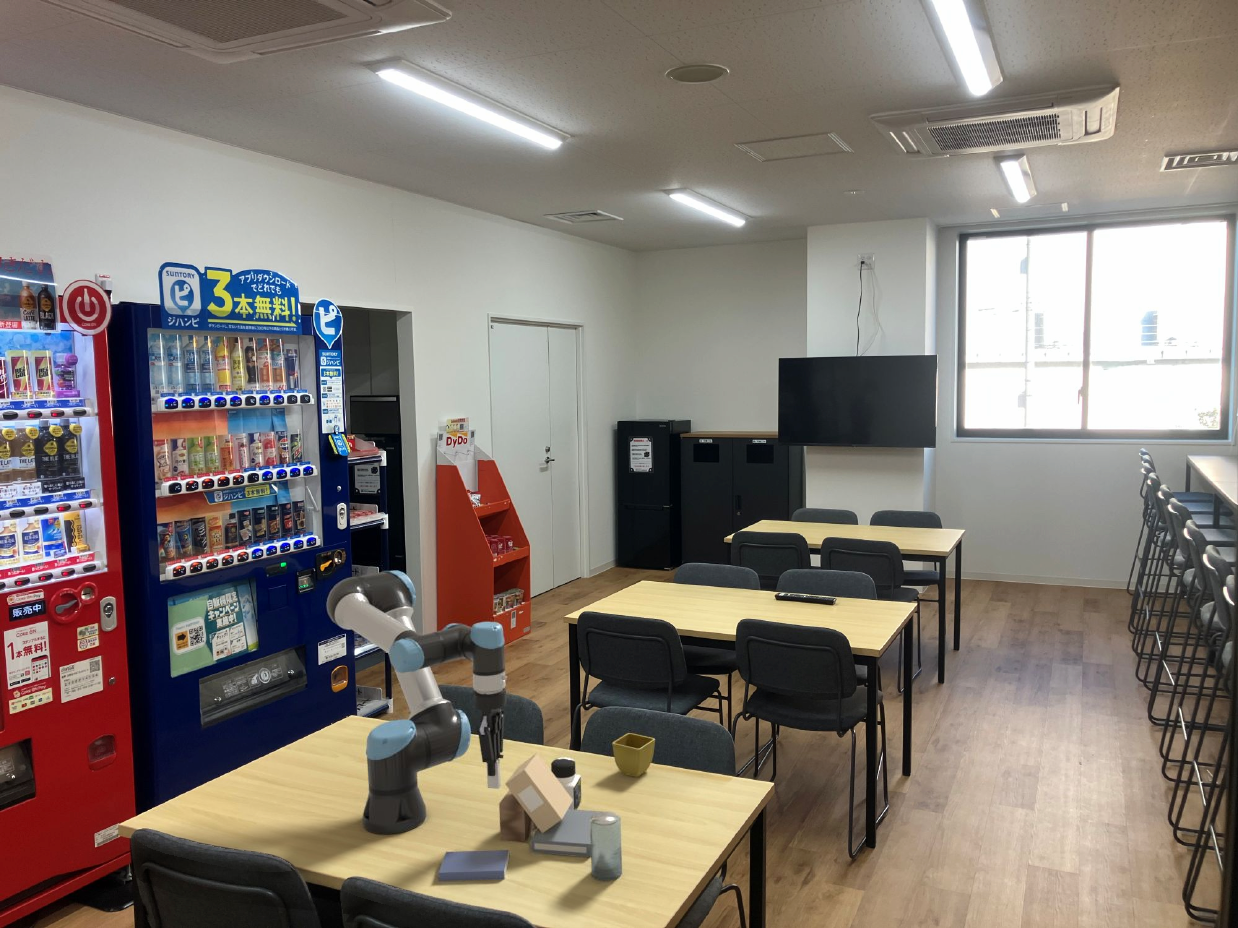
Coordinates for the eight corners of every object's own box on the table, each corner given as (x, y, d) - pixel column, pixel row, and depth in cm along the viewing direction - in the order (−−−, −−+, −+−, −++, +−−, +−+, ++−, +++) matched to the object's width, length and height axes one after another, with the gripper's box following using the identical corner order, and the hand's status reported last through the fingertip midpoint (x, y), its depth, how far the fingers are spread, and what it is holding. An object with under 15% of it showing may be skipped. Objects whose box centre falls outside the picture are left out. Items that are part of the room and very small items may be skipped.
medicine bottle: (574, 814, 226) (573, 766, 225) (546, 812, 227) (545, 765, 226) (581, 801, 233) (580, 755, 232) (554, 799, 234) (553, 754, 233)
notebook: (439, 883, 196) (438, 872, 196) (446, 861, 205) (445, 851, 205) (504, 881, 197) (504, 870, 196) (509, 859, 206) (508, 849, 205)
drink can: (588, 879, 195) (586, 823, 194) (595, 863, 202) (593, 809, 201) (618, 882, 194) (617, 825, 193) (624, 866, 200) (623, 811, 199)
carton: (542, 833, 210) (504, 783, 211) (554, 813, 220) (518, 766, 221) (561, 819, 209) (524, 769, 209) (573, 799, 218) (537, 752, 219)
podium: (530, 852, 207) (530, 839, 207) (550, 819, 223) (550, 807, 223) (590, 857, 204) (590, 844, 204) (606, 823, 220) (606, 811, 220)
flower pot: (656, 770, 251) (655, 737, 250) (640, 781, 243) (639, 748, 243) (629, 763, 256) (628, 732, 255) (612, 775, 248) (611, 742, 247)
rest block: (500, 840, 213) (499, 803, 213) (511, 824, 221) (510, 788, 220) (525, 842, 212) (523, 804, 211) (535, 826, 220) (534, 790, 219)
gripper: (495, 698, 208) (499, 799, 210) (514, 681, 221) (518, 776, 222) (464, 697, 209) (468, 797, 211) (484, 680, 222) (488, 774, 224)
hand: (494, 786), depth 217 cm, fingers closed
